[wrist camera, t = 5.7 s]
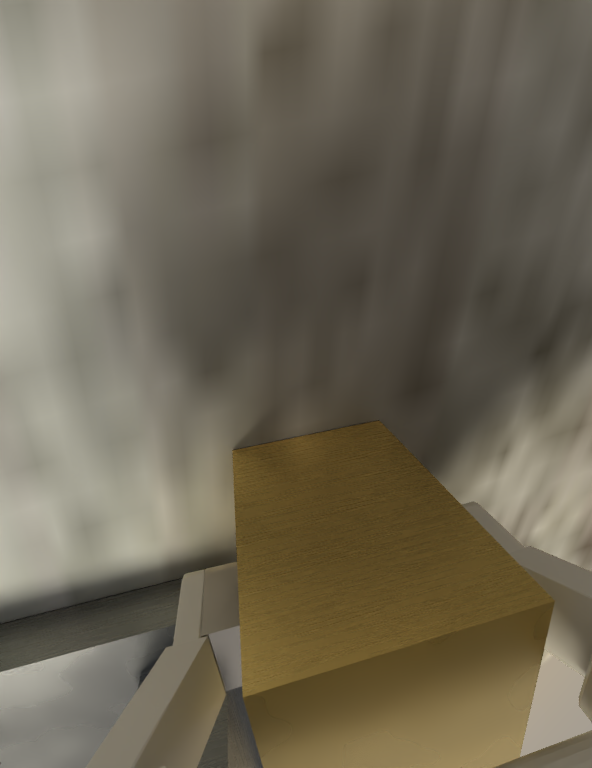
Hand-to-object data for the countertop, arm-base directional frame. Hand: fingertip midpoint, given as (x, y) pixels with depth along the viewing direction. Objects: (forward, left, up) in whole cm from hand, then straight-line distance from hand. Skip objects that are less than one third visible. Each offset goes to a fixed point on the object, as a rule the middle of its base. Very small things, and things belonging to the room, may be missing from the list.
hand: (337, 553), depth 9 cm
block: (0, 0, -2) cm, 2 cm away
